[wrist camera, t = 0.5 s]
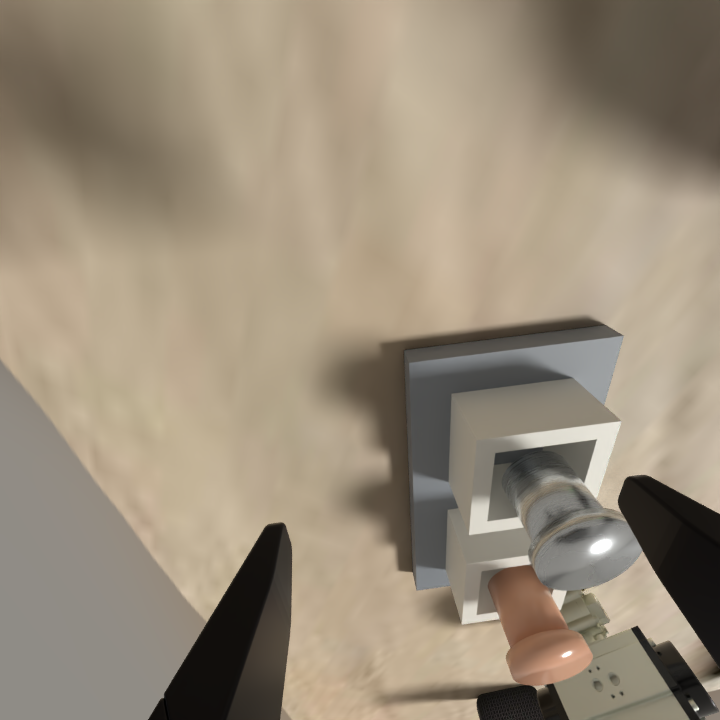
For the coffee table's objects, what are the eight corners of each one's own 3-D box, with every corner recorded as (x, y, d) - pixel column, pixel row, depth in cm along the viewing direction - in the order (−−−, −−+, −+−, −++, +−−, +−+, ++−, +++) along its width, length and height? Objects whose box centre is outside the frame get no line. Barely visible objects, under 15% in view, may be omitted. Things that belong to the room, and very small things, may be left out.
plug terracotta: (552, 555, 24) (601, 640, 20) (542, 595, 26) (583, 678, 22) (482, 565, 24) (516, 653, 20) (478, 604, 26) (508, 690, 22)
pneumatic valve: (628, 584, 36) (752, 758, 26) (520, 629, 39) (593, 804, 28) (612, 558, 34) (741, 739, 23) (498, 609, 36) (568, 792, 26)
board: (605, 324, 22) (685, 373, 17) (547, 553, 32) (586, 622, 28) (403, 350, 21) (427, 406, 17) (412, 572, 32) (428, 646, 27)
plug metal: (583, 438, 19) (657, 517, 15) (567, 498, 21) (627, 582, 17) (496, 449, 19) (545, 533, 15) (489, 509, 21) (530, 596, 17)
